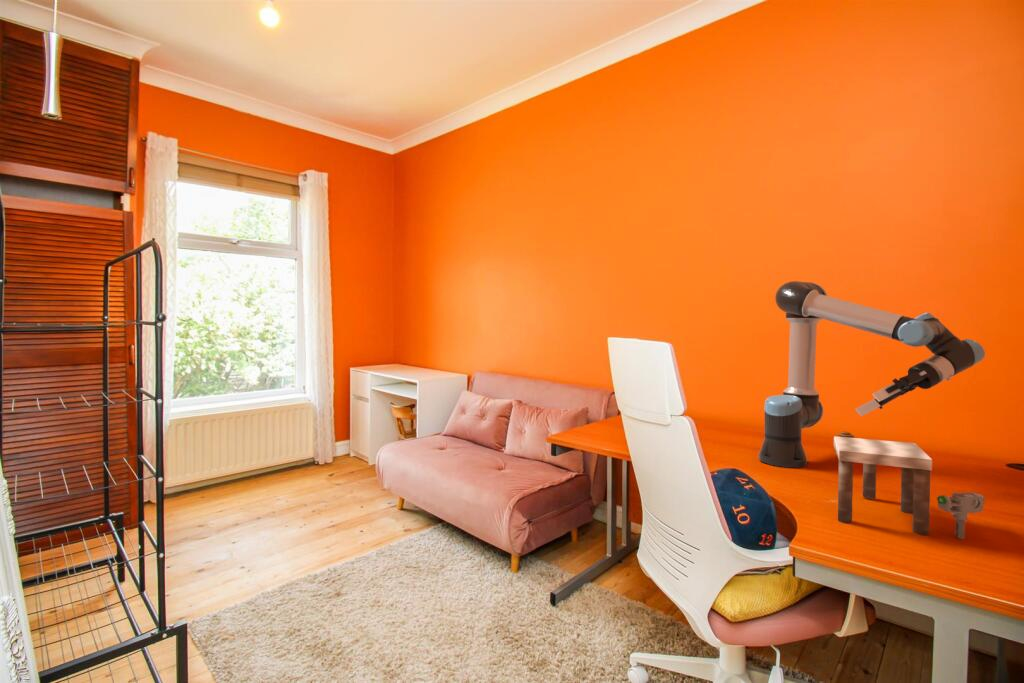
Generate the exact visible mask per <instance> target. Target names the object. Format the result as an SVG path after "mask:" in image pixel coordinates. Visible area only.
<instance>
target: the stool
mask: <svg viewBox="0 0 1024 683" xmlns="http://www.w3.org/2000/svg"><path fill="white" fill-rule="evenodd" d="M834 447H835V450H836V452H835V453H836V456H837V458H838V474H837V475H838V479H837V480H838V482H837V484H838V486H837V488H838V489H837V491H838V492H837V521H838V522H840V523H843V524H852V523H853V500H854V499H853V495H854V494H853V493H854V492H853V491H854V490H853V485H854V463H859V464H863V463H867V464H876V466H877V465H878V466H885V467H886V466H889V467H895V468H896V467H898V468H900V470H901V471H900V472H901V474H900V512H901V513H903V512H904V514H907V513H908V514H909V515H912V533H914V534H916V535H919V536H929V535H930V509H931V508H930V502H931V471H933V459H932V458H931V457H930V456H929V455H928V454H927V453H926V452H925V451H924V450H923V449H922V448H920V446H919V445H917V443H915V442H904V441H903V442H902V441H893V440H883V439H882V440H881V439H869V438H859V437H858V438H856V437H855V438H848V437H837V435H836V436H833V448H834ZM835 450H834V451H835ZM908 514H907V515H908Z"/></svg>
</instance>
